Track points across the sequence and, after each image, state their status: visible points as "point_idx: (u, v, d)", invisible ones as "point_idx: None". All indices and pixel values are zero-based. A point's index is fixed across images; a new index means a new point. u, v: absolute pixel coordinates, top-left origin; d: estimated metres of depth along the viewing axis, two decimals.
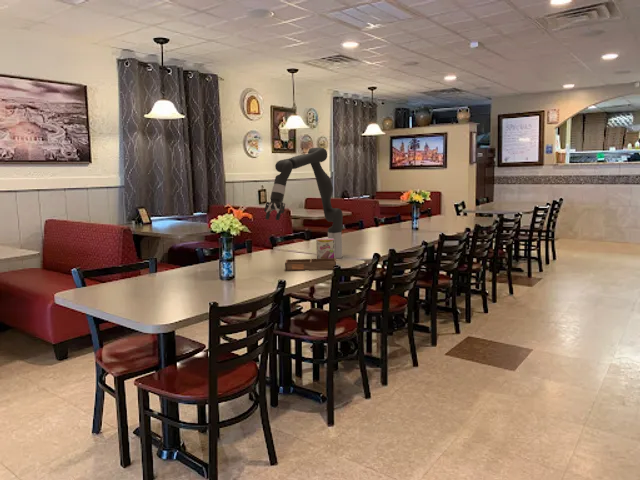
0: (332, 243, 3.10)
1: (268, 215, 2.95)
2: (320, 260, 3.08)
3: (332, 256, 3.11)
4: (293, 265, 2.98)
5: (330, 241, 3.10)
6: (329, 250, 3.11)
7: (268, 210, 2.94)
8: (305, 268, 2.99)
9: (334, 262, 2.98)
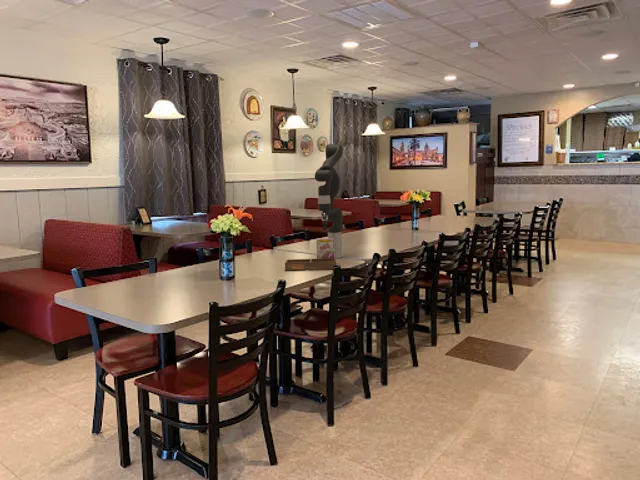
0: (332, 243, 3.10)
1: None
2: (320, 260, 3.08)
3: (332, 256, 3.11)
4: (293, 265, 2.98)
5: (330, 241, 3.10)
6: (329, 250, 3.11)
7: None
8: (305, 268, 2.99)
9: (334, 262, 2.98)
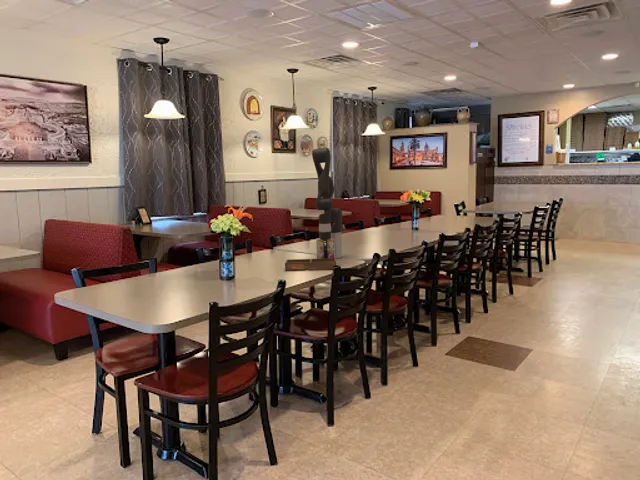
0: (332, 243, 3.10)
1: None
2: (320, 260, 3.08)
3: (332, 256, 3.11)
4: (293, 265, 2.98)
5: (330, 241, 3.10)
6: (329, 250, 3.11)
7: None
8: (305, 268, 2.99)
9: (334, 262, 2.98)
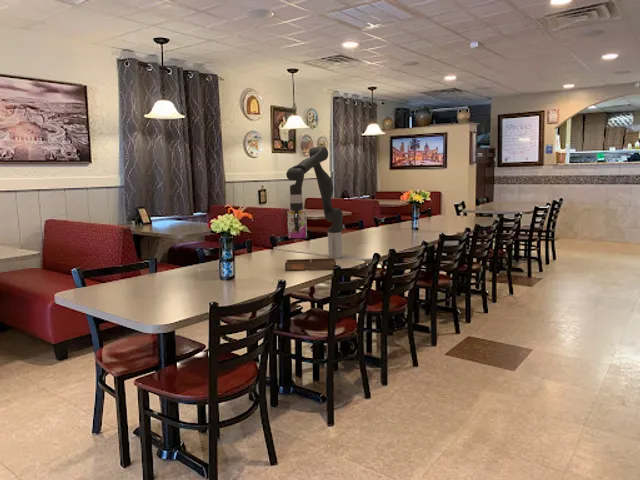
0: (303, 215, 2.97)
1: None
2: (320, 260, 3.08)
3: (303, 229, 2.98)
4: (293, 265, 2.98)
5: (301, 213, 2.97)
6: (300, 222, 2.97)
7: None
8: (305, 268, 2.99)
9: (334, 262, 2.98)
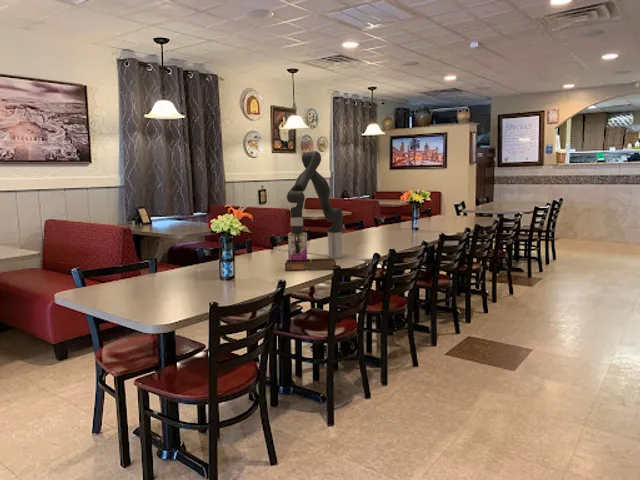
0: (304, 237, 2.99)
1: None
2: (320, 260, 3.08)
3: (304, 251, 3.00)
4: (293, 265, 2.98)
5: (302, 235, 2.99)
6: (301, 245, 2.99)
7: None
8: (305, 268, 2.99)
9: (334, 262, 2.98)
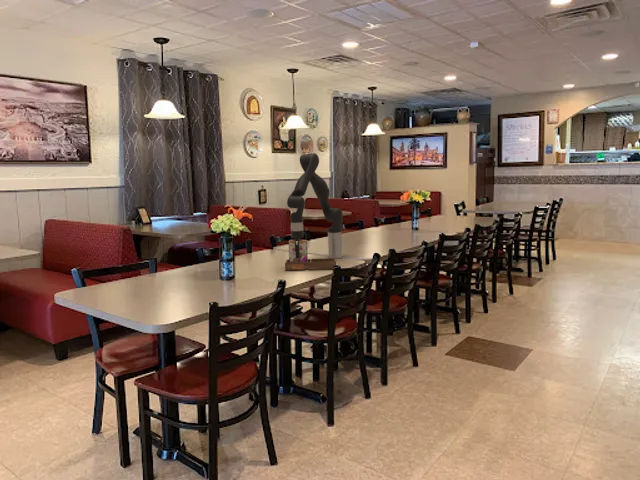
0: (305, 245, 3.00)
1: None
2: (320, 260, 3.08)
3: (305, 258, 3.01)
4: (293, 265, 2.98)
5: (303, 243, 3.00)
6: (302, 252, 3.00)
7: None
8: (305, 268, 2.99)
9: (334, 262, 2.98)
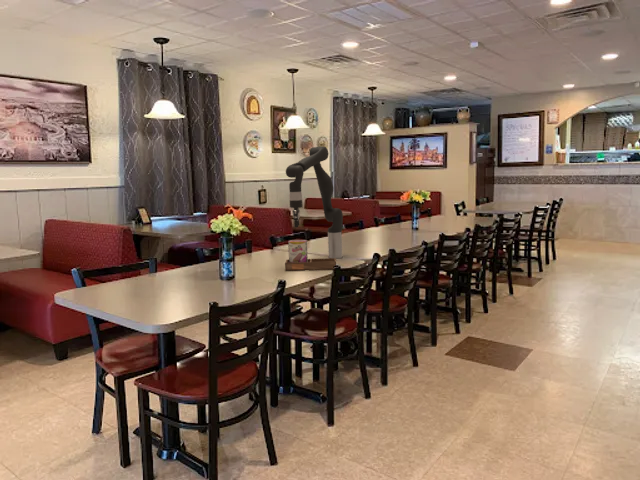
0: (304, 245, 2.99)
1: None
2: (320, 260, 3.08)
3: (304, 258, 3.01)
4: (293, 265, 2.98)
5: (302, 243, 2.99)
6: (302, 252, 3.00)
7: None
8: (305, 268, 2.99)
9: (334, 262, 2.98)
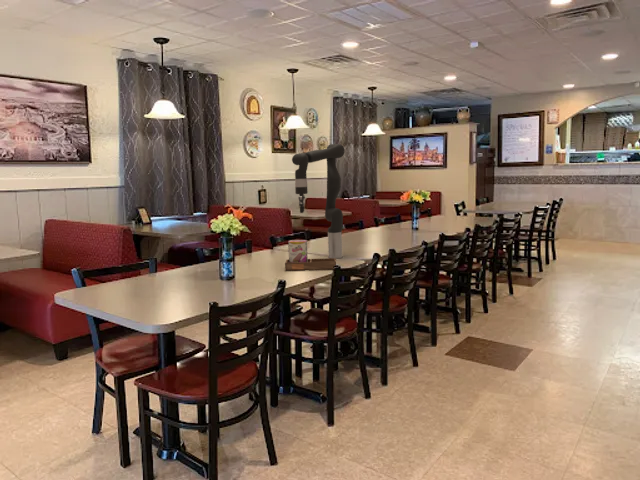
0: (304, 245, 2.99)
1: (302, 207, 3.18)
2: (320, 260, 3.08)
3: (304, 258, 3.01)
4: (293, 265, 2.98)
5: (302, 243, 2.99)
6: (302, 252, 3.00)
7: None
8: (305, 268, 2.99)
9: (334, 262, 2.98)
